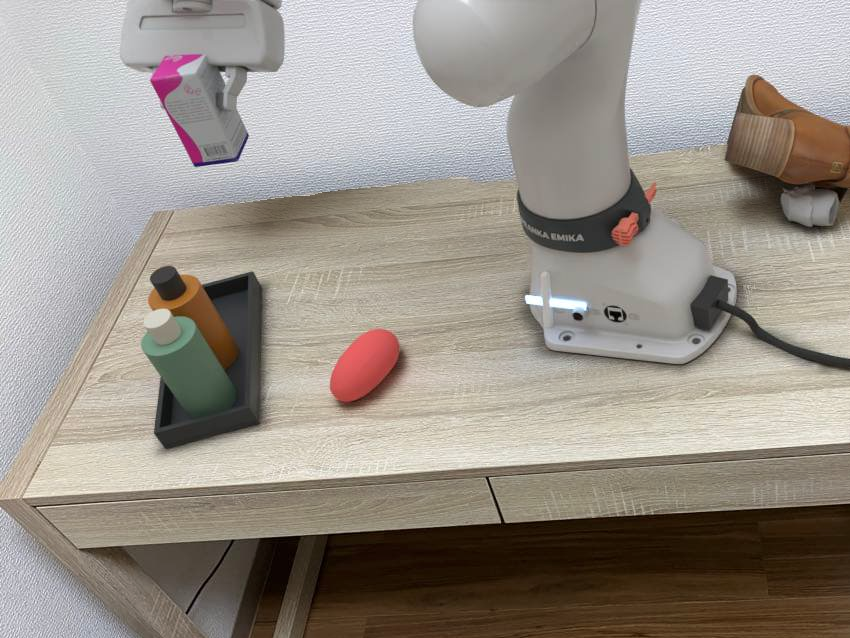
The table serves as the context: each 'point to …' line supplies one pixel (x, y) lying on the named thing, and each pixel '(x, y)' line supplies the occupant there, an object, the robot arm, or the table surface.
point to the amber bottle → (193, 310)
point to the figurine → (810, 205)
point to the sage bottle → (187, 364)
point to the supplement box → (199, 109)
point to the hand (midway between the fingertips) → (198, 110)
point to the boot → (787, 139)
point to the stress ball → (364, 364)
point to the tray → (243, 321)
